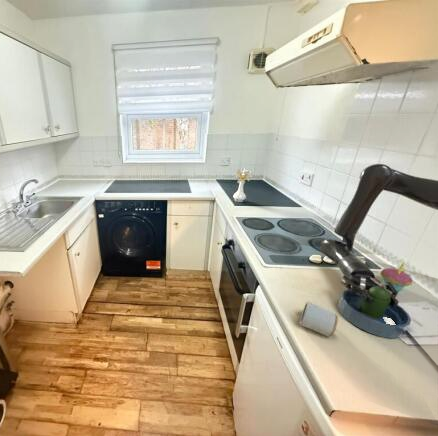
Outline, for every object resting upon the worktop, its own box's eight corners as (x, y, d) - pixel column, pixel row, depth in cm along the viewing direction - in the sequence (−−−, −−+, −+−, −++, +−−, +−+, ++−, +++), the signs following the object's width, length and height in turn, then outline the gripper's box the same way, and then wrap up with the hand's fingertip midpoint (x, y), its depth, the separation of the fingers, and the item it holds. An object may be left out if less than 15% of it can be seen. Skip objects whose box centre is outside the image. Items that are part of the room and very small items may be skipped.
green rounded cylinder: (376, 307, 78) (388, 282, 74) (386, 320, 73) (400, 294, 69) (356, 303, 79) (367, 279, 75) (364, 316, 74) (377, 290, 70)
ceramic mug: (331, 343, 68) (339, 323, 65) (298, 329, 73) (305, 310, 70) (331, 320, 76) (338, 301, 73) (301, 309, 81) (307, 291, 78)
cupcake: (407, 297, 86) (422, 269, 81) (376, 286, 91) (388, 260, 86) (406, 285, 91) (419, 259, 87) (376, 276, 97) (388, 251, 92)
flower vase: (230, 204, 179) (235, 171, 169) (230, 196, 195) (235, 166, 185) (249, 205, 175) (255, 172, 165) (247, 198, 191) (252, 167, 181)
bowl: (383, 305, 82) (389, 293, 80) (418, 344, 68) (426, 332, 66) (329, 296, 86) (333, 285, 84) (351, 332, 72) (357, 319, 70)
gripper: (335, 258, 87) (359, 288, 72) (382, 265, 83) (418, 297, 68) (329, 275, 90) (350, 307, 75) (374, 282, 86) (407, 317, 71)
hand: (382, 302), depth 71 cm, fingers closed on green rounded cylinder, 5 cm apart
